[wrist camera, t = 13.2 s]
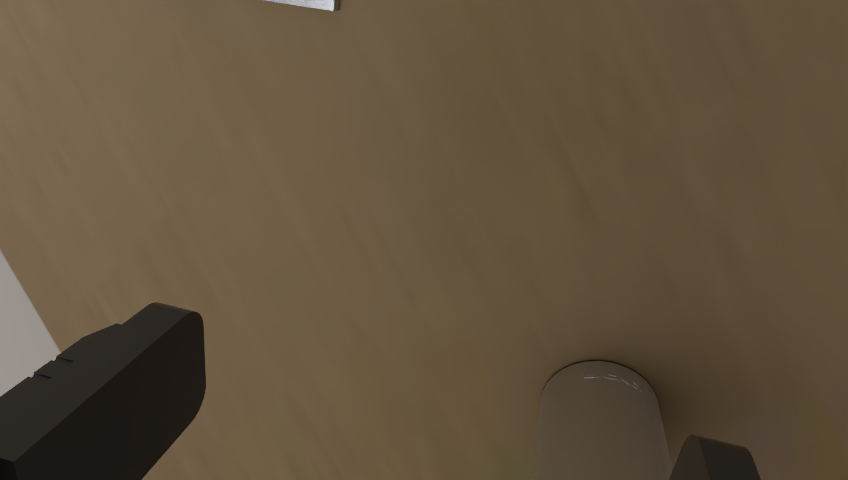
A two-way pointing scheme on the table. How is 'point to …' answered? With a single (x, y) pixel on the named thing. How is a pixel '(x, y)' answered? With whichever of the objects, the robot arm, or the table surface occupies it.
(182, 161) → the table surface
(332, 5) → the collar
